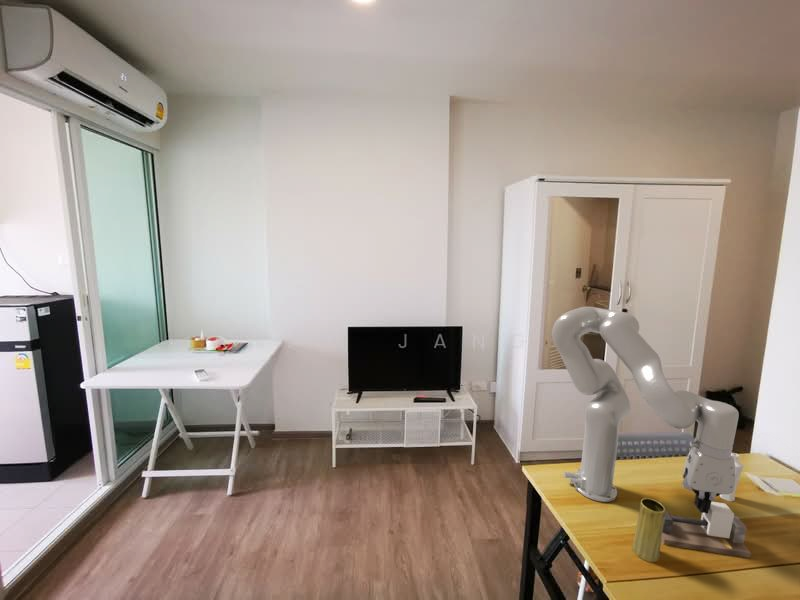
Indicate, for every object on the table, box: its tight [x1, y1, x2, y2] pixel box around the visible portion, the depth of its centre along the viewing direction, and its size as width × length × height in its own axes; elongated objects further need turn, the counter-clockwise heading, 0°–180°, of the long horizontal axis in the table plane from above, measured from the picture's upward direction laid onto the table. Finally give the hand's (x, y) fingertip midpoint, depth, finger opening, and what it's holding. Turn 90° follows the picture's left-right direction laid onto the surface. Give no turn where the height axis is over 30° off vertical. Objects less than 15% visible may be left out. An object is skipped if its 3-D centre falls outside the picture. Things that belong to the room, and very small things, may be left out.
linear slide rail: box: [661, 508, 752, 559], centre depth 106 cm, size 20×10×6 cm, turn 78°
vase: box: [631, 497, 666, 563], centre depth 99 cm, size 6×6×14 cm
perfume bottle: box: [719, 452, 744, 502], centre depth 121 cm, size 5×4×15 cm
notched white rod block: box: [700, 501, 735, 538], centre depth 104 cm, size 5×4×8 cm
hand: (701, 509), depth 105 cm, fingers closed
